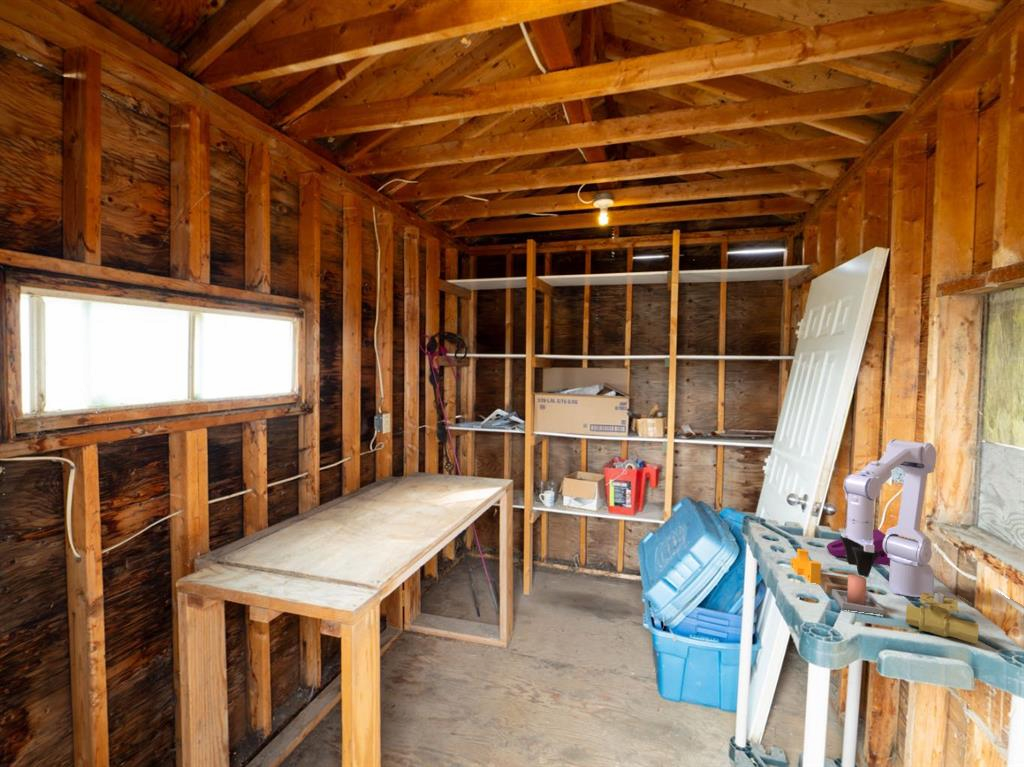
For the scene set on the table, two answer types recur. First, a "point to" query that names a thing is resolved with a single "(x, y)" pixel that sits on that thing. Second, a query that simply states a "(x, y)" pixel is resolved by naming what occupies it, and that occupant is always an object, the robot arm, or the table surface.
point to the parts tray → (869, 608)
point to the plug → (856, 590)
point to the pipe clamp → (806, 566)
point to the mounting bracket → (839, 550)
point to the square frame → (833, 583)
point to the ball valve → (941, 618)
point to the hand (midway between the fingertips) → (857, 569)
